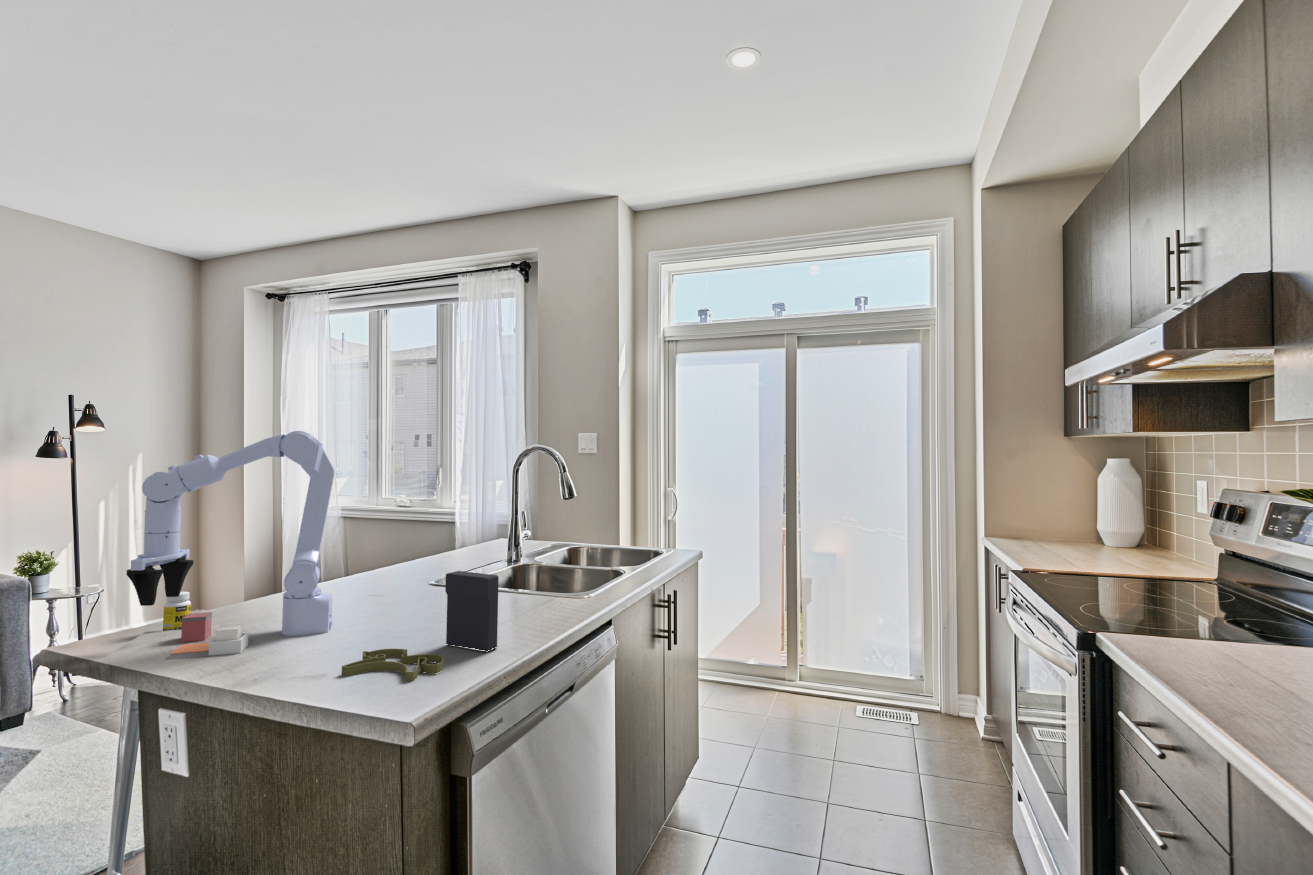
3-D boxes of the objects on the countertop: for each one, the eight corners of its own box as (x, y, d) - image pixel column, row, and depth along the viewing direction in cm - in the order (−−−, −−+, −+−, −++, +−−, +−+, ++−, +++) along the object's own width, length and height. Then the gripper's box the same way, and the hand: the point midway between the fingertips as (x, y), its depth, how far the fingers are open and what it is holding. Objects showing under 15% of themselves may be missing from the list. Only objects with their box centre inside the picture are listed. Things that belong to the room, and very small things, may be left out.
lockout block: (211, 640, 132) (212, 611, 132) (204, 646, 128) (205, 616, 129) (187, 642, 131) (188, 613, 131) (180, 648, 127) (181, 618, 127)
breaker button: (242, 639, 124) (242, 624, 125) (237, 644, 121) (237, 628, 121) (220, 641, 123) (221, 625, 123) (215, 646, 120) (215, 630, 120)
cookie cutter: (330, 677, 113) (331, 665, 113) (373, 656, 124) (373, 646, 124) (422, 685, 109) (422, 673, 109) (457, 663, 121) (457, 653, 121)
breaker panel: (252, 646, 129) (252, 628, 129) (240, 659, 120) (240, 640, 120) (181, 651, 125) (182, 633, 125) (163, 665, 116) (164, 646, 116)
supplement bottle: (175, 635, 136) (176, 596, 136) (156, 634, 137) (158, 594, 137) (195, 629, 140) (196, 591, 141) (177, 628, 141) (179, 590, 142)
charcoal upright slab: (499, 648, 130) (501, 574, 130) (485, 653, 126) (487, 578, 126) (458, 640, 134) (459, 569, 135) (443, 646, 130) (445, 573, 131)
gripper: (165, 528, 133) (162, 593, 133) (114, 536, 119) (111, 609, 118) (200, 528, 134) (198, 592, 134) (154, 536, 120) (152, 609, 119)
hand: (160, 600), depth 126 cm, fingers open, 7 cm apart
